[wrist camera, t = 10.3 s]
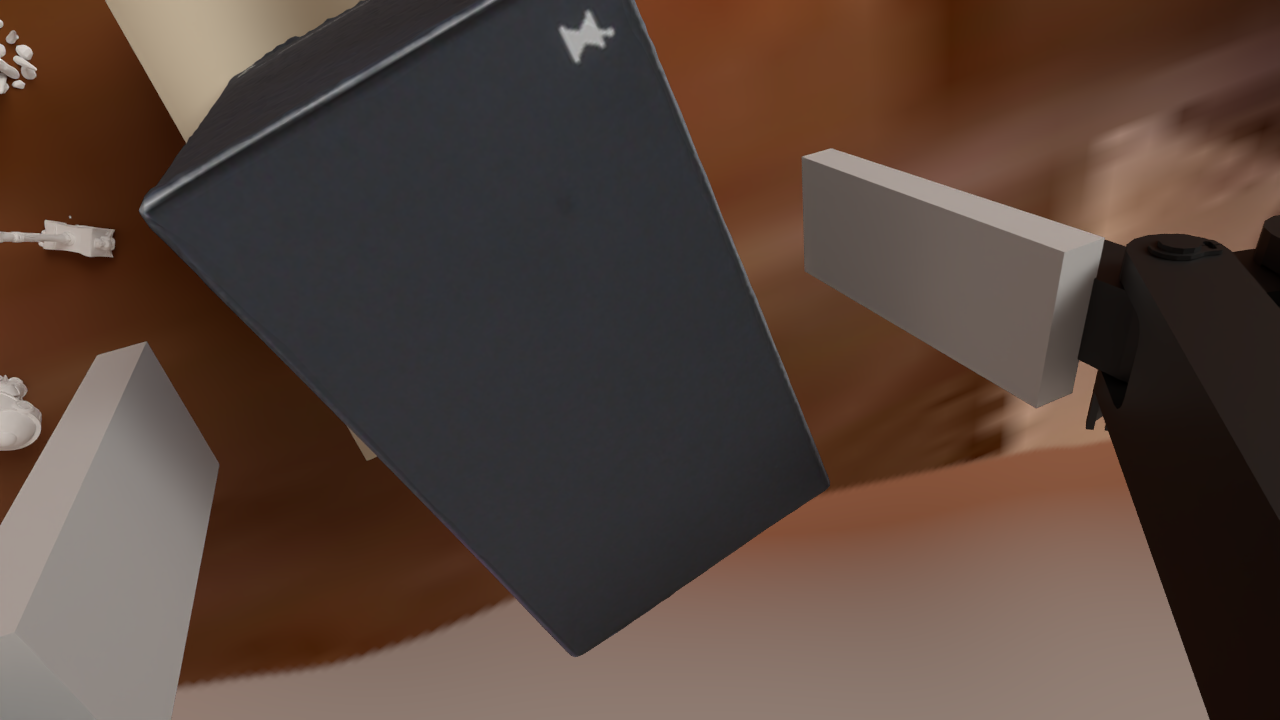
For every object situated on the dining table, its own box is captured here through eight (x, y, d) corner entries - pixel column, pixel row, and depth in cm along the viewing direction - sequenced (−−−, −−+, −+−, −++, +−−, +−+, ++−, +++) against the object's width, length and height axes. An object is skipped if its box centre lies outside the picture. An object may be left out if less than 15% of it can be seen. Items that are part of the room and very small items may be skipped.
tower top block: (512, -115, 20) (554, -135, 16) (619, 291, 27) (664, 334, 23) (131, -21, 17) (92, -22, 14) (357, 397, 24) (367, 461, 21)
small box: (202, 86, 16) (80, 208, 7) (454, -61, 16) (619, -109, 8) (465, 408, 22) (570, 684, 13) (641, 292, 22) (851, 483, 14)
